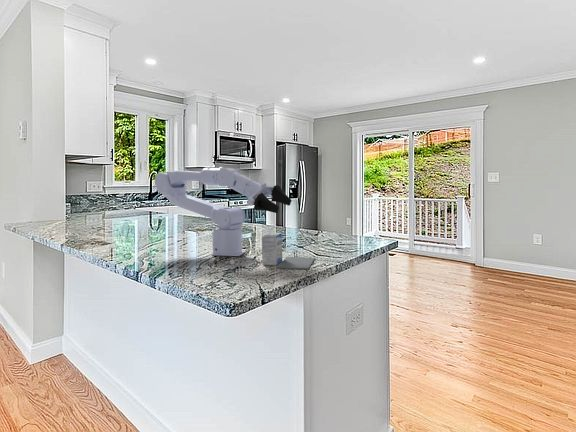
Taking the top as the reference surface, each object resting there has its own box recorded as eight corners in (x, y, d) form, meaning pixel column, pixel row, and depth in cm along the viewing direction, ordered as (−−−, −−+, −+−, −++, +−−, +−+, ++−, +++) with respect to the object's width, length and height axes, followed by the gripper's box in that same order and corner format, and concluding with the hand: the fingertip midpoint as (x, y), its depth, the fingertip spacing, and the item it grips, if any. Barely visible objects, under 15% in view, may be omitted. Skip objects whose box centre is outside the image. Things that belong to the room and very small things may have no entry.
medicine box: (276, 265, 108) (276, 236, 107) (262, 265, 109) (261, 236, 108) (282, 260, 115) (282, 232, 115) (268, 259, 116) (268, 232, 115)
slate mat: (276, 268, 105) (276, 266, 105) (287, 257, 118) (287, 256, 118) (308, 269, 103) (308, 268, 103) (314, 258, 116) (314, 257, 116)
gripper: (238, 183, 112) (274, 202, 107) (264, 172, 124) (298, 188, 119) (234, 203, 115) (269, 222, 111) (260, 190, 127) (293, 207, 122)
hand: (284, 206), depth 115 cm, fingers open, 7 cm apart
